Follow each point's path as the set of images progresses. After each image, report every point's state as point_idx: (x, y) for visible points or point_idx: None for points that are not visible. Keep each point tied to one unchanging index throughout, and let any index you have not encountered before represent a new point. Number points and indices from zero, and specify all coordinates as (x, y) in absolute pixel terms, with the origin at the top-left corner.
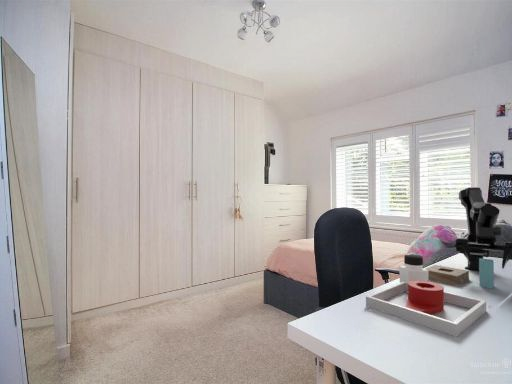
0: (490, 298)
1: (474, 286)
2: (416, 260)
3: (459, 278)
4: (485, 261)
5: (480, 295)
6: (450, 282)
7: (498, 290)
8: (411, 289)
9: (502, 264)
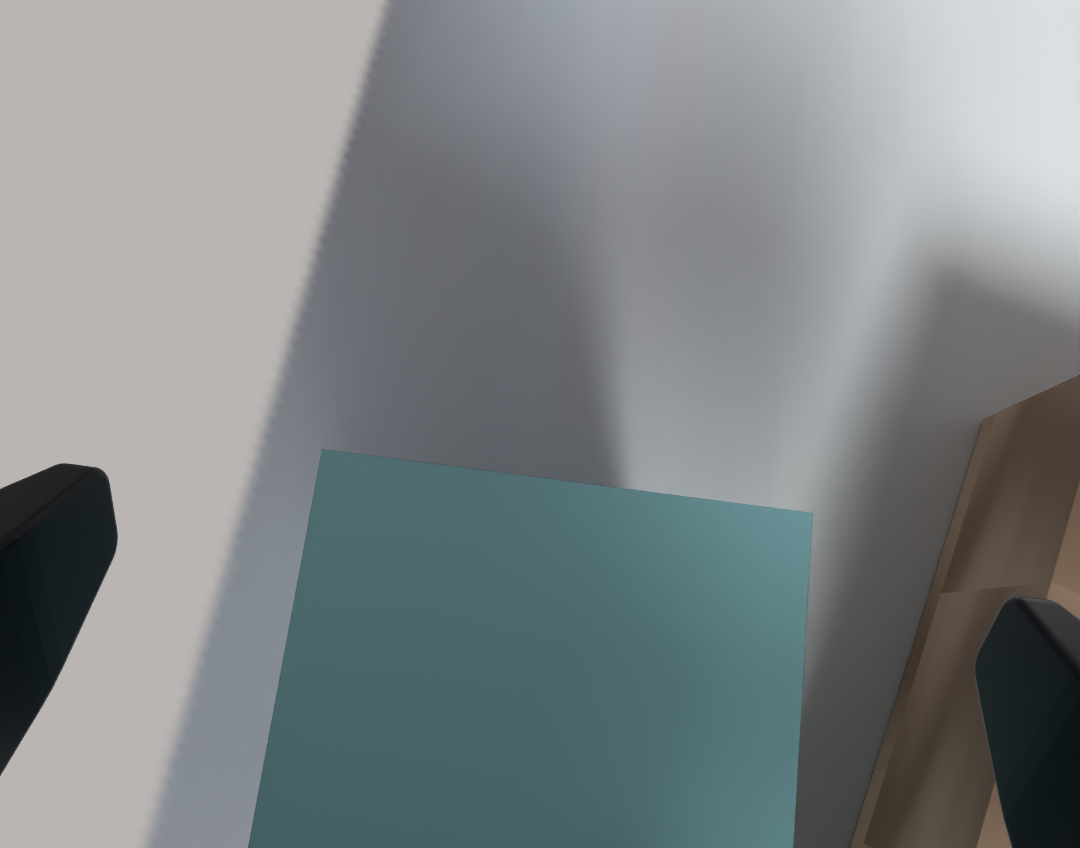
0: (577, 30)
1: None
2: None
3: (1043, 470)
4: (599, 494)
5: (688, 109)
6: None
7: None
8: None
9: (42, 511)
